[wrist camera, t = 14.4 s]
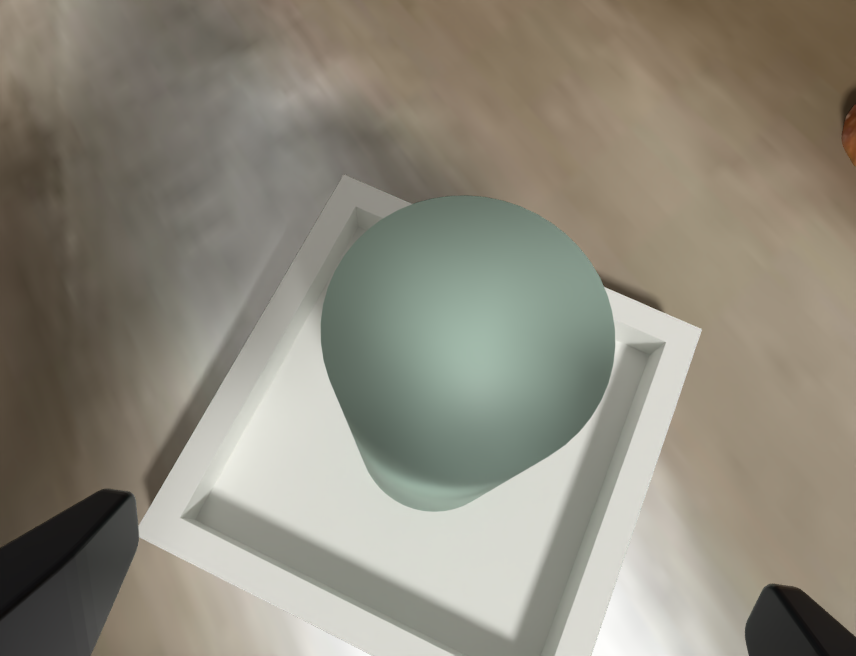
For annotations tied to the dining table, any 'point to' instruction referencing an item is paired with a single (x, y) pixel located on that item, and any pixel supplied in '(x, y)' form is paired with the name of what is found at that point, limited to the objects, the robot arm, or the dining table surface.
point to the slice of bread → (850, 135)
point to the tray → (400, 525)
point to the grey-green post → (464, 346)
